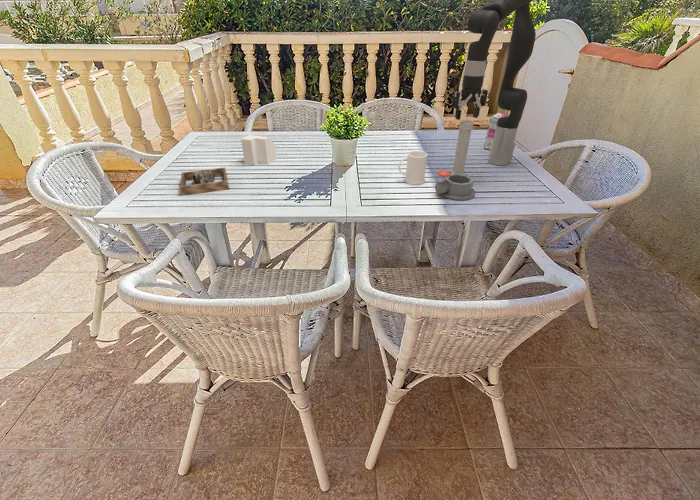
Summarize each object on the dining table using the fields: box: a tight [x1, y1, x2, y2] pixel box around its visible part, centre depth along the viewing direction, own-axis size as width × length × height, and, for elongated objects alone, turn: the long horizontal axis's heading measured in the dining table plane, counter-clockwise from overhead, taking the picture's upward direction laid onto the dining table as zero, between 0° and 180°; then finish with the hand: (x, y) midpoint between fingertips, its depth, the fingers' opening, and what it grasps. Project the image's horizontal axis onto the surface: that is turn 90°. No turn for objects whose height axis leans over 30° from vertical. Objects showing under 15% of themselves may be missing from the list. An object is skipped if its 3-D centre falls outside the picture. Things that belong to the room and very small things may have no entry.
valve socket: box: [434, 169, 476, 202], centre depth 146 cm, size 17×14×10 cm
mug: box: [398, 150, 428, 186], centre depth 156 cm, size 12×8×12 cm
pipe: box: [450, 107, 474, 175], centre depth 153 cm, size 6×6×30 cm
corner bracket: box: [240, 134, 278, 166], centre depth 175 cm, size 11×11×12 cm
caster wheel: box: [193, 169, 215, 184], centre depth 155 cm, size 7×11×10 cm
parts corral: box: [179, 167, 230, 196], centre depth 155 cm, size 18×16×4 cm
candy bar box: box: [483, 112, 507, 151], centre depth 191 cm, size 11×5×16 cm, turn 144°
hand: (466, 118), depth 147 cm, fingers open, 7 cm apart
